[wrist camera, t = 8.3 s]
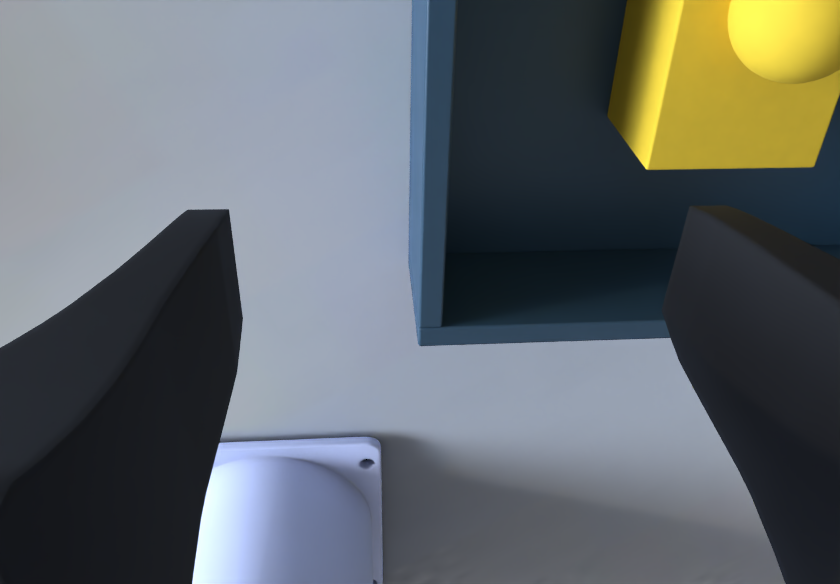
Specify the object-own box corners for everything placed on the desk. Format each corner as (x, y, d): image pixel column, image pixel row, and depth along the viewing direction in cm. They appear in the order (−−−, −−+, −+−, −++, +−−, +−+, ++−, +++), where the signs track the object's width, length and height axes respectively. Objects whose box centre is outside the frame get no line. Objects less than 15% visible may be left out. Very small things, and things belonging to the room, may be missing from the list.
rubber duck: (753, 115, 20) (868, 215, 15) (606, 117, 19) (681, 219, 15) (829, -146, 16) (1006, -114, 12) (651, -149, 16) (765, -117, 12)
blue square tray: (864, 252, 23) (946, 329, 20) (408, 263, 22) (418, 347, 19) (1120, -346, 15) (1326, -377, 12) (417, -374, 14) (436, -415, 11)
